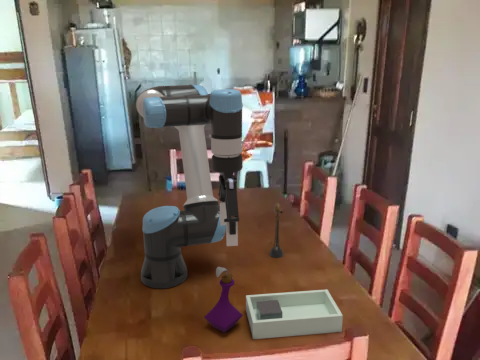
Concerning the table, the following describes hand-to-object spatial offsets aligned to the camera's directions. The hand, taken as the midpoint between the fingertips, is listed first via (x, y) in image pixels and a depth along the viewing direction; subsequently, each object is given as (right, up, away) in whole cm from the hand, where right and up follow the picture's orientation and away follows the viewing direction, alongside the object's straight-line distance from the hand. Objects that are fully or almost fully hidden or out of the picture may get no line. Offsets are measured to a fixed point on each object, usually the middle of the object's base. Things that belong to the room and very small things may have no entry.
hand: (228, 234), depth 113 cm
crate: (+17, -25, +9) cm, 32 cm away
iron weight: (+11, -24, +8) cm, 28 cm away
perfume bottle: (-1, -26, +6) cm, 27 cm away
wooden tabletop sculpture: (+16, -14, +46) cm, 51 cm away
